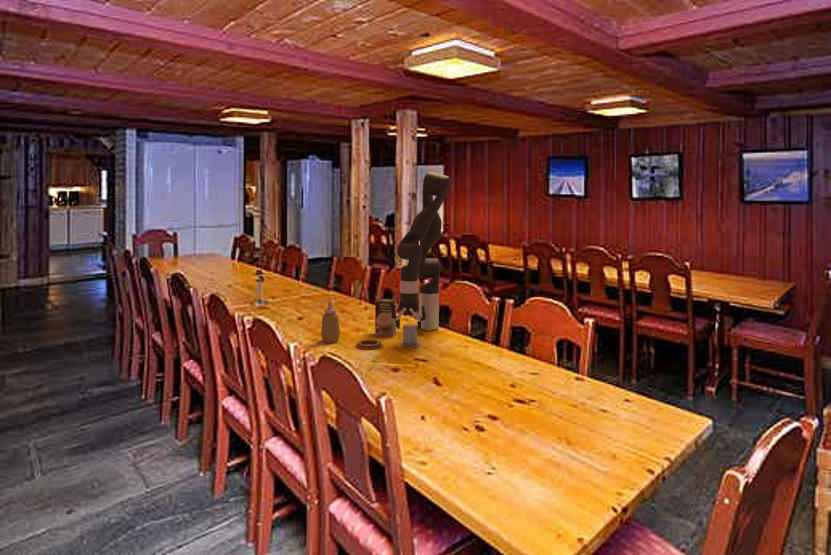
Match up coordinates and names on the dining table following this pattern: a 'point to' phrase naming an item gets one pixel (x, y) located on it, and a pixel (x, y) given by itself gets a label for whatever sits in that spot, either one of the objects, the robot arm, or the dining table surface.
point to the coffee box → (384, 317)
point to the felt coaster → (410, 347)
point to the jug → (410, 335)
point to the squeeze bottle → (330, 325)
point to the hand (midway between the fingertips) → (408, 329)
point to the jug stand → (369, 345)
